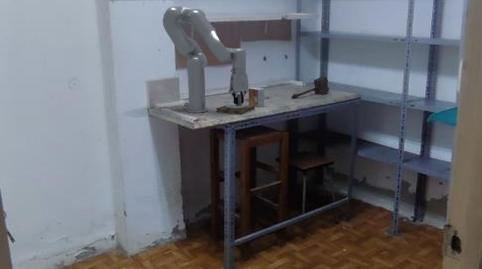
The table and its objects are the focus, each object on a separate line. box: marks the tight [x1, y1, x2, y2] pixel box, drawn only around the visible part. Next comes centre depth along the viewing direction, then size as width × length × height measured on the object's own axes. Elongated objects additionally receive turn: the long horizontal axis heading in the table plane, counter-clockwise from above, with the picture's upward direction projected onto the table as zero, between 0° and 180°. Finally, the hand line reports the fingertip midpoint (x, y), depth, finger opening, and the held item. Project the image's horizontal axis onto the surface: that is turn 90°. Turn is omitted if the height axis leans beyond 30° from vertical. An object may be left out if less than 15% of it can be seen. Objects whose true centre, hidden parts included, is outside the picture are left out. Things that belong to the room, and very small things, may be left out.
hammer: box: [291, 76, 330, 99], centre depth 327 cm, size 7×33×10 cm, turn 130°
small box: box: [248, 87, 265, 108], centre depth 296 cm, size 8×6×10 cm
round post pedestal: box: [224, 93, 247, 109], centre depth 282 cm, size 12×12×8 cm
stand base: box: [216, 104, 256, 115], centre depth 284 cm, size 16×16×2 cm
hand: (238, 103), depth 280 cm, fingers open, 3 cm apart
